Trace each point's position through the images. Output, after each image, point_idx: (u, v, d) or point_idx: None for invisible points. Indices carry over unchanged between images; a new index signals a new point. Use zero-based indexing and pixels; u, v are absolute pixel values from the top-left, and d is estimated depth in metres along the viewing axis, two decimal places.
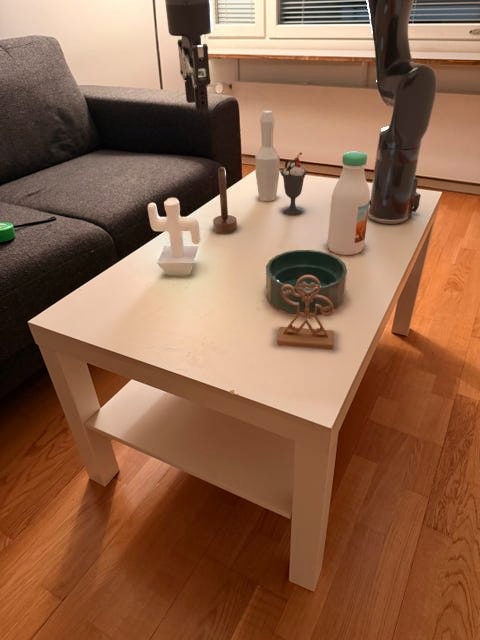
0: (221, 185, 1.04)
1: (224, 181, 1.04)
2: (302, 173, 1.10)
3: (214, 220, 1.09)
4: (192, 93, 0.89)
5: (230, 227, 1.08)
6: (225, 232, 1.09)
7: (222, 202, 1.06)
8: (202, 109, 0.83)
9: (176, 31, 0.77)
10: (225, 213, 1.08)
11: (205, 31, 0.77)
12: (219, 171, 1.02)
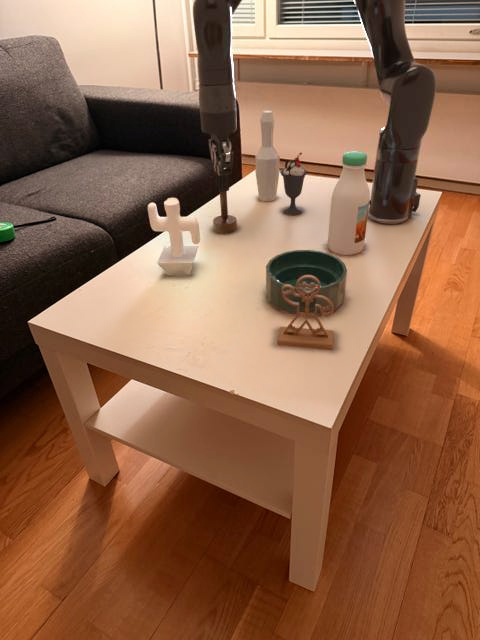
0: None
1: None
2: (302, 173, 1.10)
3: (214, 220, 1.09)
4: None
5: (230, 227, 1.08)
6: (225, 232, 1.09)
7: (222, 202, 1.06)
8: (224, 190, 1.04)
9: (208, 131, 0.95)
10: (225, 213, 1.08)
11: (231, 131, 0.96)
12: None
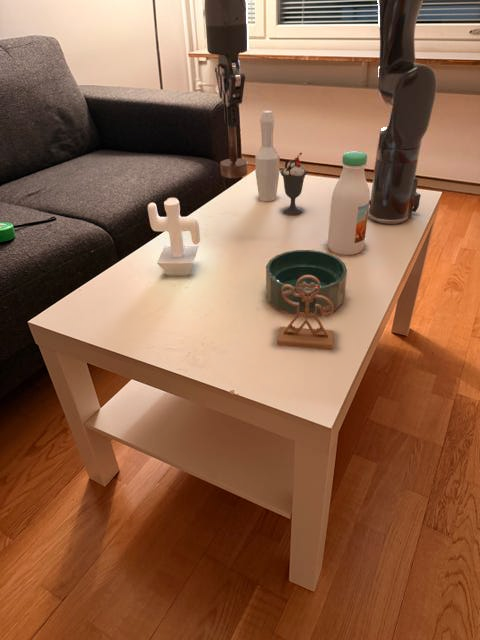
0: None
1: None
2: (302, 173, 1.10)
3: (222, 163, 0.96)
4: None
5: (239, 169, 0.95)
6: (234, 176, 0.95)
7: (231, 140, 0.93)
8: (233, 125, 0.91)
9: (215, 50, 0.82)
10: (234, 154, 0.95)
11: (242, 50, 0.82)
12: None
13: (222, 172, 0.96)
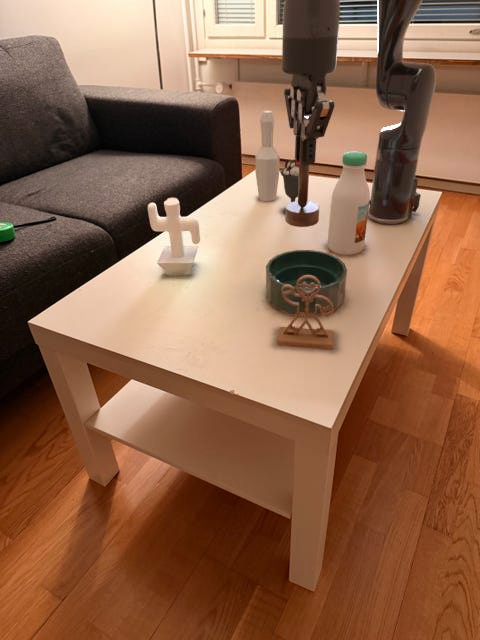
0: None
1: None
2: None
3: (287, 207, 0.77)
4: None
5: (311, 217, 0.75)
6: (304, 224, 0.76)
7: (302, 181, 0.74)
8: (308, 163, 0.71)
9: (295, 70, 0.62)
10: (305, 197, 0.75)
11: (331, 69, 0.63)
12: None
13: (288, 219, 0.77)
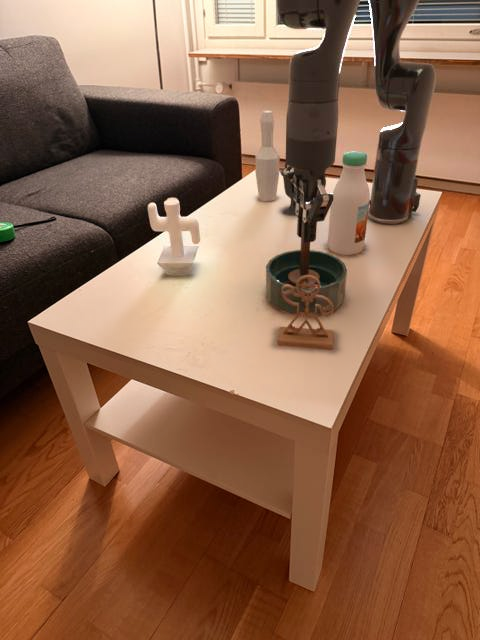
0: None
1: None
2: None
3: (290, 277, 0.83)
4: None
5: None
6: None
7: (303, 255, 0.80)
8: (309, 240, 0.77)
9: (298, 166, 0.68)
10: (306, 269, 0.81)
11: (330, 165, 0.69)
12: None
13: None
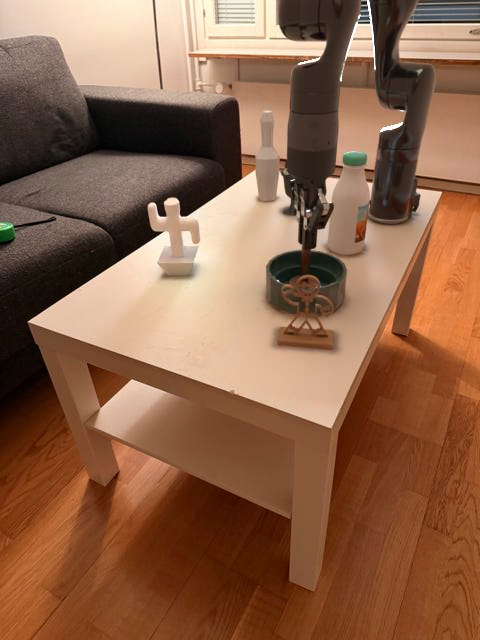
0: None
1: None
2: None
3: (291, 283, 0.84)
4: None
5: None
6: None
7: (304, 262, 0.81)
8: (310, 248, 0.78)
9: (299, 175, 0.69)
10: None
11: (330, 174, 0.70)
12: None
13: None
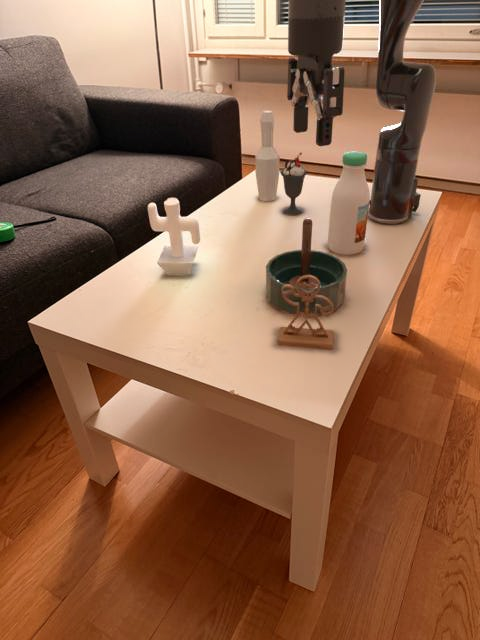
0: (305, 241, 0.78)
1: (310, 236, 0.78)
2: (302, 173, 1.10)
3: (291, 283, 0.84)
4: (302, 121, 0.74)
5: None
6: None
7: (304, 262, 0.81)
8: (324, 143, 0.68)
9: (302, 51, 0.62)
10: None
11: (337, 50, 0.63)
12: (305, 224, 0.77)
13: None
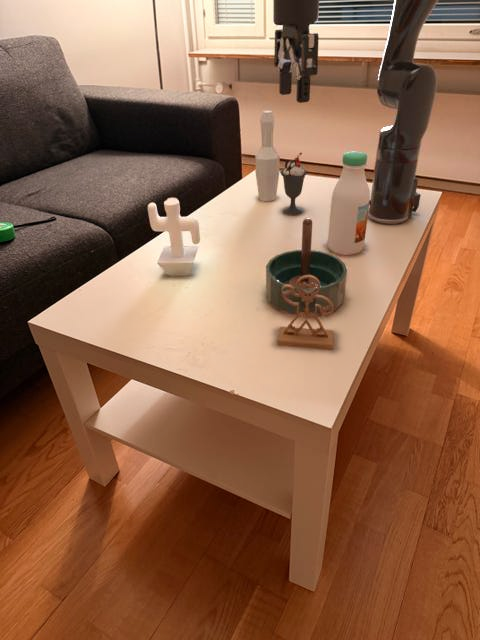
0: (305, 241, 0.78)
1: (310, 236, 0.78)
2: (302, 173, 1.10)
3: (291, 283, 0.84)
4: (286, 85, 0.87)
5: None
6: None
7: (304, 262, 0.81)
8: (303, 100, 0.81)
9: (284, 20, 0.75)
10: None
11: (313, 20, 0.76)
12: (305, 224, 0.77)
13: None
